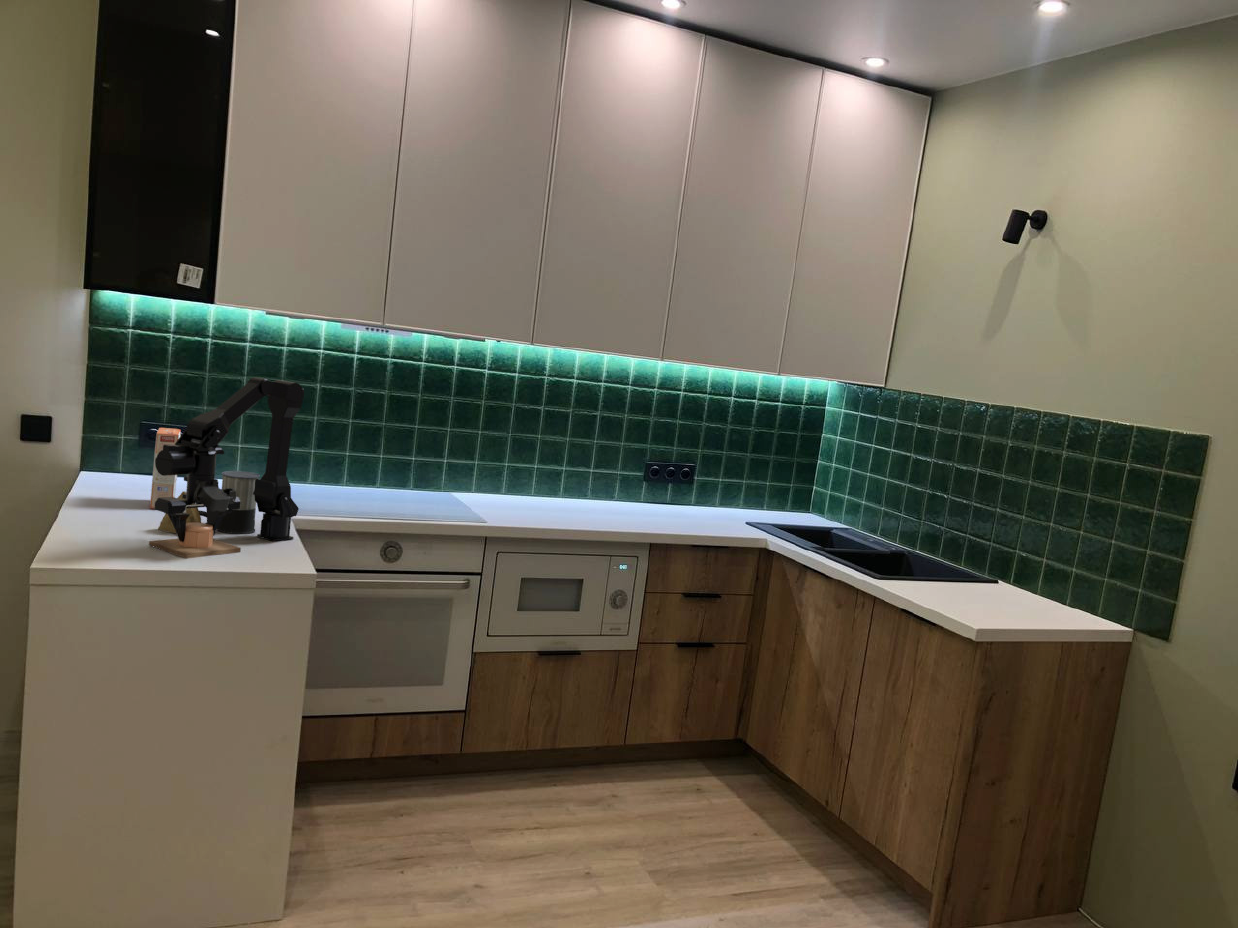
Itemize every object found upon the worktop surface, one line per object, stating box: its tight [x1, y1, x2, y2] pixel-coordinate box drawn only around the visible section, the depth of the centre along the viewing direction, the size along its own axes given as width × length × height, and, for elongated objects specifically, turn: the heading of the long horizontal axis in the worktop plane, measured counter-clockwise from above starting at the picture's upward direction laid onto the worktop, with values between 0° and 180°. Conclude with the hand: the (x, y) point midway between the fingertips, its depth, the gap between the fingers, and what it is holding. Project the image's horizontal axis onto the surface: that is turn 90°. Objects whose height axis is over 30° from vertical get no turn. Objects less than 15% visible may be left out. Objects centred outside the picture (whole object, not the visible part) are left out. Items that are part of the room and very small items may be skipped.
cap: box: [179, 522, 214, 548], centre depth 229 cm, size 7×7×4 cm
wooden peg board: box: [148, 538, 241, 559], centre depth 229 cm, size 14×14×4 cm
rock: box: [157, 491, 202, 534], centre depth 243 cm, size 11×9×10 cm
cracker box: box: [149, 427, 182, 510], centre depth 273 cm, size 14×6×21 cm, turn 22°
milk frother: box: [198, 470, 261, 535], centre depth 252 cm, size 14×16×15 cm
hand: (196, 540), depth 229 cm, fingers closed on cap, 7 cm apart
